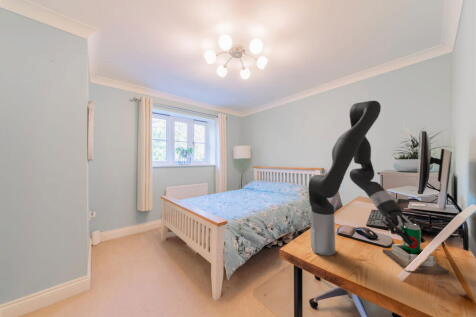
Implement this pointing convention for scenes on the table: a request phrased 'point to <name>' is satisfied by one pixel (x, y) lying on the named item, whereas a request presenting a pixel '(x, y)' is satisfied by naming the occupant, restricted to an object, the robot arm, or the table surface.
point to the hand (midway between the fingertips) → (417, 243)
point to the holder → (405, 259)
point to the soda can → (415, 235)
